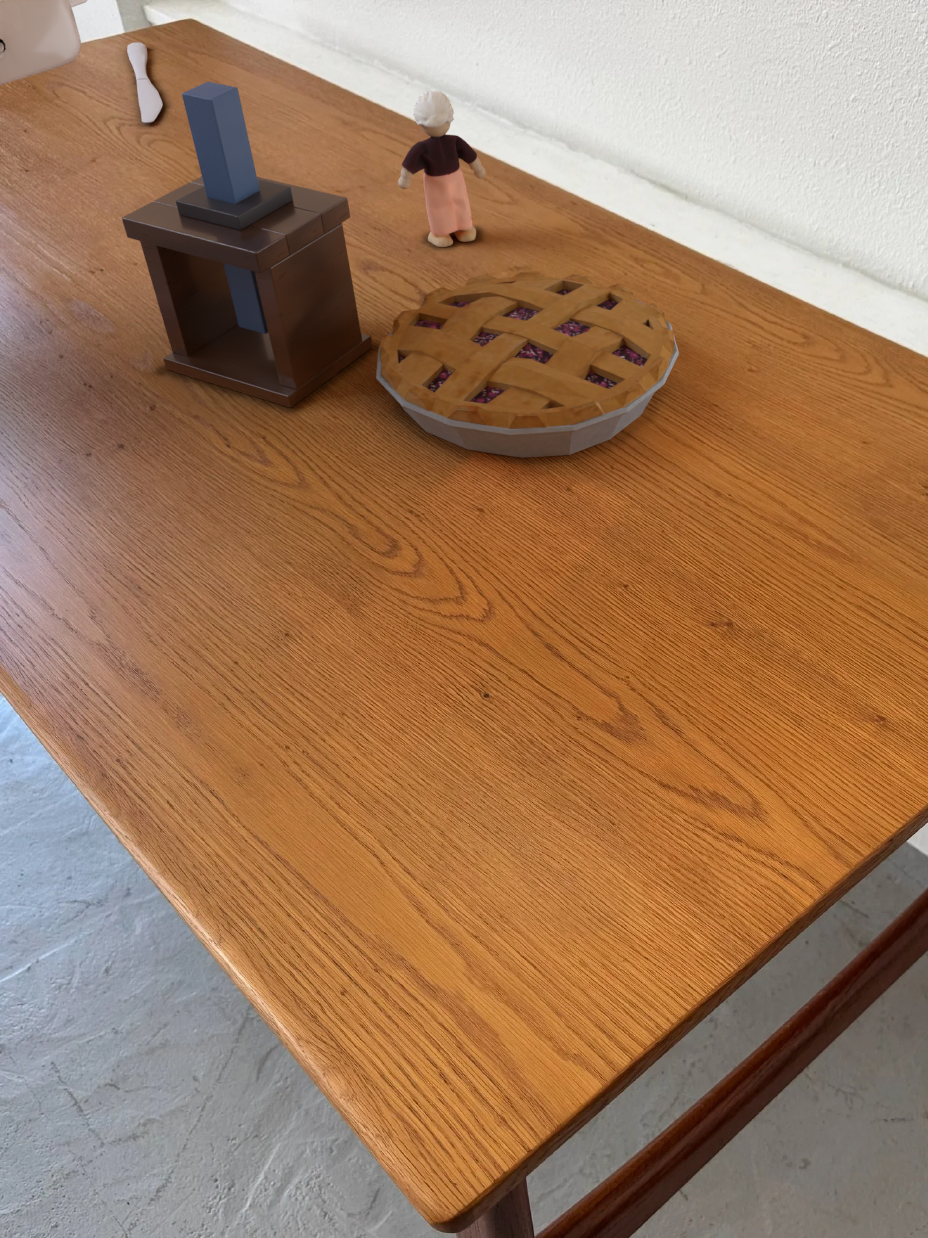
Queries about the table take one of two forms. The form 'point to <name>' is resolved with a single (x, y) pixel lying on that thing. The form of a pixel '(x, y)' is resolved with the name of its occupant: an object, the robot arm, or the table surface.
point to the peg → (229, 184)
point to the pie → (527, 363)
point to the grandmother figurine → (442, 171)
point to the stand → (288, 286)
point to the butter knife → (144, 83)
